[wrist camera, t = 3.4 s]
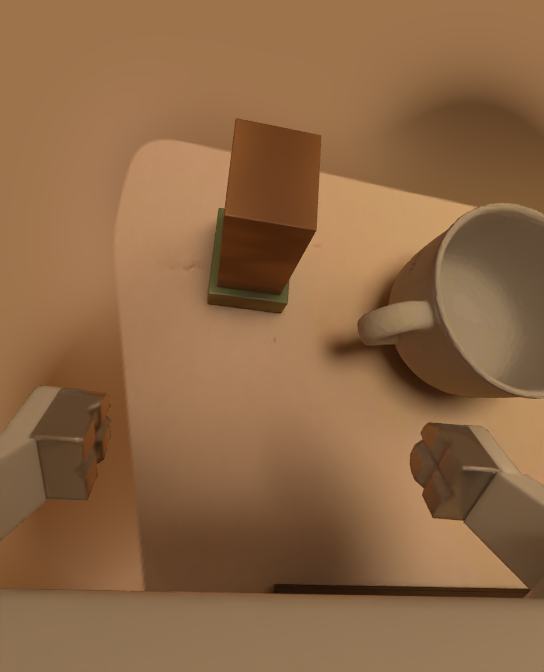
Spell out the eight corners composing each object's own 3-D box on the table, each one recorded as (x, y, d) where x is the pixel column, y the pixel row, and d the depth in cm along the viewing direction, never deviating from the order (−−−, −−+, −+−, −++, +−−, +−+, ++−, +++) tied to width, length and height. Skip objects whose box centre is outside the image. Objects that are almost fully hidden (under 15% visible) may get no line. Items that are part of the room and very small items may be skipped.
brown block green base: (207, 303, 25) (210, 224, 16) (217, 223, 27) (226, 106, 17) (281, 313, 26) (327, 242, 16) (287, 234, 27) (332, 128, 18)
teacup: (492, 266, 30) (592, 209, 22) (517, 407, 27) (640, 396, 20) (321, 256, 27) (367, 188, 20) (331, 409, 25) (388, 398, 17)
